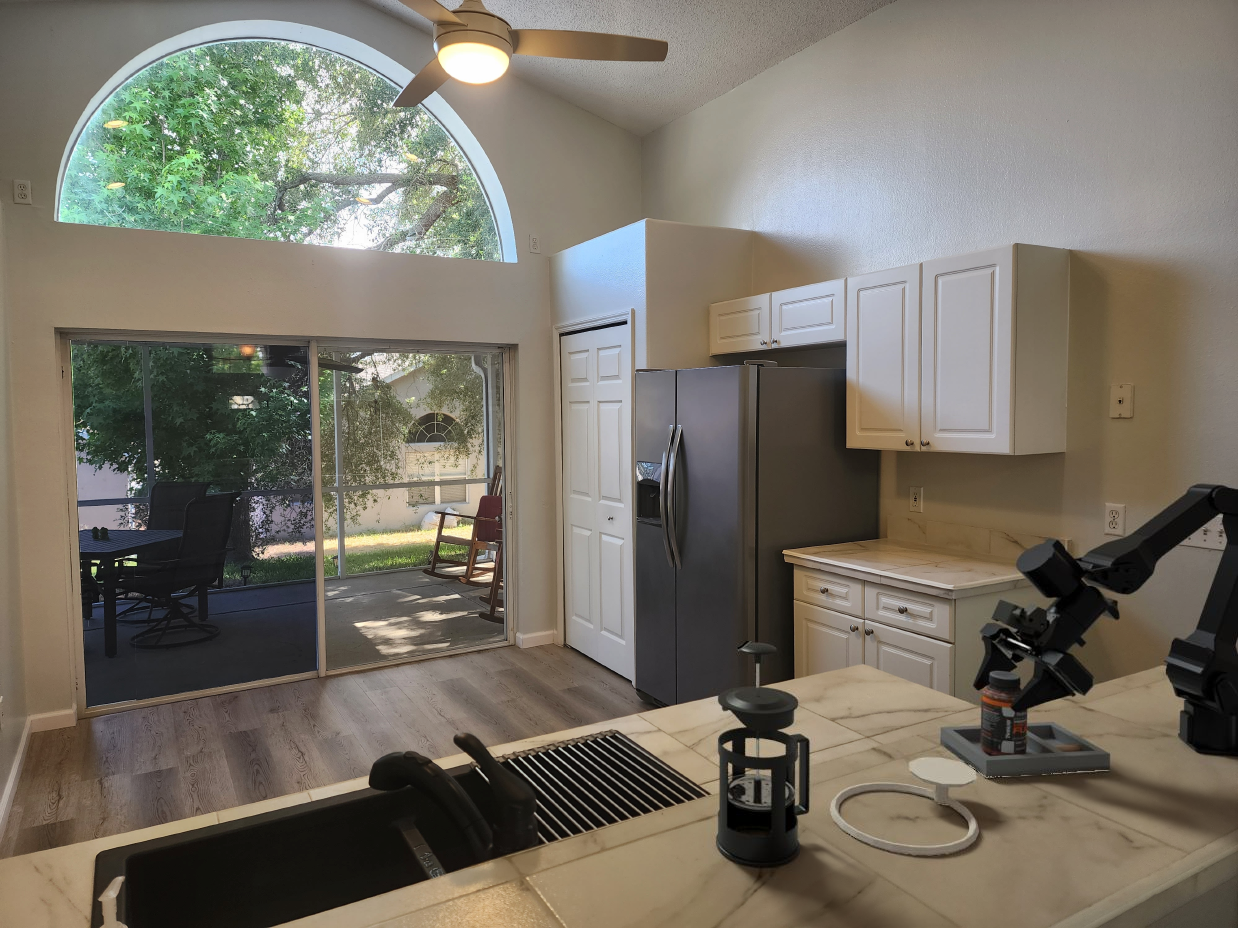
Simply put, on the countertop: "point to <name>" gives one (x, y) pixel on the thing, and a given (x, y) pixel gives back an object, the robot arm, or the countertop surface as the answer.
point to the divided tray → (1028, 751)
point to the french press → (757, 794)
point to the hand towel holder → (930, 772)
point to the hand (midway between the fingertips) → (993, 698)
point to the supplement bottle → (1002, 716)
